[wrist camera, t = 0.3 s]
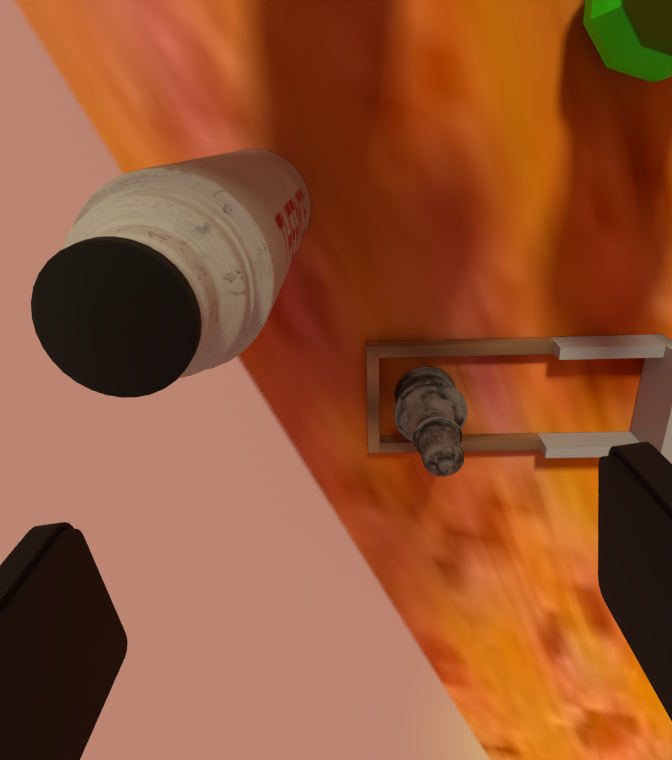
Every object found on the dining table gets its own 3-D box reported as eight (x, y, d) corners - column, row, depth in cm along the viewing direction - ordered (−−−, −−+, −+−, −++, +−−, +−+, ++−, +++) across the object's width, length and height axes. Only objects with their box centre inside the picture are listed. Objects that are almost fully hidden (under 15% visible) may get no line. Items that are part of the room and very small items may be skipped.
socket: (550, 337, 45) (572, 360, 41) (662, 334, 45) (697, 357, 41) (536, 443, 50) (555, 474, 45) (639, 441, 49) (668, 472, 45)
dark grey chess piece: (391, 363, 47) (404, 434, 36) (461, 362, 47) (496, 434, 36) (390, 425, 49) (401, 509, 38) (457, 424, 49) (488, 509, 38)
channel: (366, 341, 46) (366, 346, 45) (550, 337, 45) (555, 342, 44) (367, 446, 50) (368, 453, 49) (536, 443, 50) (540, 450, 48)
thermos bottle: (322, 166, 41) (277, 227, 15) (296, 271, 44) (223, 468, 18) (214, 135, 40) (-27, 143, 14) (196, 243, 43) (-27, 409, 17)
